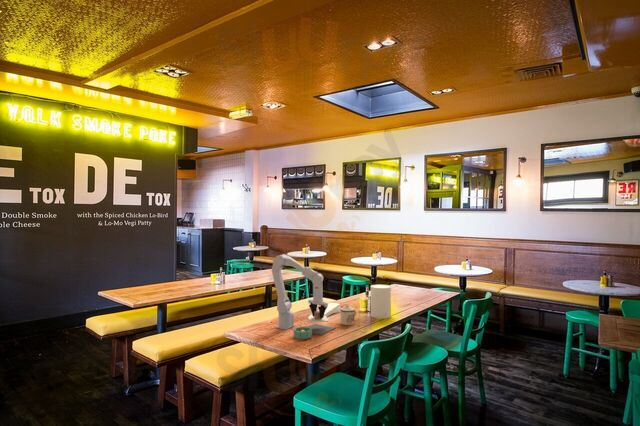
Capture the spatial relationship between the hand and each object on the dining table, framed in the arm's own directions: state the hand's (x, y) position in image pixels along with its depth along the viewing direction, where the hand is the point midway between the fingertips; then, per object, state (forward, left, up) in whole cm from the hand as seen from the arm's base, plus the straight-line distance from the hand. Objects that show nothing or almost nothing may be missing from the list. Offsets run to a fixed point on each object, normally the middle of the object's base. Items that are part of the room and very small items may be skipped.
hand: (318, 317), depth 230 cm
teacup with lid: (-23, +8, -8) cm, 26 cm away
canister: (-50, +17, -8) cm, 53 cm away
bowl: (+15, 0, -8) cm, 17 cm away
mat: (0, 0, -8) cm, 8 cm away
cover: (0, 0, -2) cm, 2 cm away
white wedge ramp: (-31, -16, -8) cm, 36 cm away
